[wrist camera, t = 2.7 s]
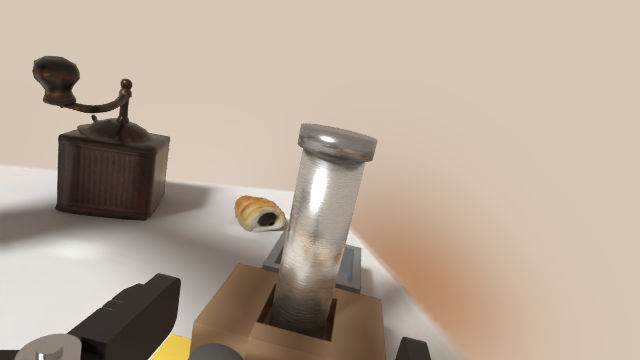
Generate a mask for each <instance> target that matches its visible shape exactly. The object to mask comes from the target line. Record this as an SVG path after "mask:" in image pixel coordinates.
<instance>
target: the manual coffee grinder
mask: <svg viewBox="0 0 640 360" xmlns="http://www.w3.org/2000/svg"><path fill="white" fill-rule="evenodd" d="M33 75H34V78H35V79H36V80H37V81H38V82H39V83H40V84H41V85H42V86H43V88H44V89H45V95H44V97H43V102H45V103H47V104H51V105H57V106H60V107H61V108H63V107H65V108H69V109H73V110H77V111H80V112H84V113H100V112H107V111H111V110H114V109H116V108H117V107H119V106H120V113H119V116H118V118H111V119H105V120H99V121H98V120H97V117H96V116H95V115H92V120H93V121H94V123H92V124H85V125H80V126H78V127H77V128H78V129H77V130H73V131H70V132H67V133H64V134H61V135H59V138H58V142H59V148H58V182H57V205H56V209H57V210H61V211H66V212H71V213H76V214H82V215H91V216H99V217H108V218H116V219H129V220H146V219H148V218H149V217H150V216H151V215H152V214H153V212H154V211H155V209H156V208H157V206H158V205H159V203H160V201H161V199H162V198H163V196H164V193H165V178H166V169H167V161H168V151H169V143H170V137H168V136H163V135H158V134H152V133H148V132H147V131H146V130H145V129H144V128H142V127H140V126H139V125H137V124H135V123H132V122H129V119H128V104H129V98H130V97H132V92H131V90H130V89H131V88H132V82H131V81H130V80H129V79H122V81H121V88H122V89H121V90H120V91H119V97H118V98H117V99H116V100H115V101H113V102H110V103H108V104H103V105H94V106H92V105H83V104H78V103H76V98H75V97H74V95H73V93H72V91H71V90H72V88H73V86H74V85H75V83H76V82H77V81H78V80H79V79H80V76H79V75H80V74H79V70H78V68H77V66H76V64H74V63H72V62H70V61H69V60H67V59H64V58H63V57H57V56H44V57H42V58H39V59H37V60H35V61H34V67H33Z"/></svg>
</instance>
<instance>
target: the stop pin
mask: <svg viewBox="0 0 640 360" xmlns="http://www.w3.org/2000/svg"><path fill="white" fill-rule="evenodd" d="M376 144H377V140H376V139H374V138H372V137H369V136H366V135H363V134H359V133H356V132H352V131H348V130H344V129H339V128H334V127H329V126H323V125H316V124H301V128H300V134H299V139H298V145H299V146H300V147H302V148H303V152H302V157H301V162H300V167H299V172H298V177H297V182H296V187H295V193H294V198H293V203H292V208H291V213H290V218H289V223H288V228H287V233H286V238H285V243H284V249H283V254H282V259H281V264H280V269H279V274H278V279H277V284H276V289H275V294H274V300H273V305H272V310H271V315H270V320H269V326H273V327H276V328H280V329H284V330H288V331H291V332H295V333H299V334H303V335H306V336H310V337H314V338H317V339H321V340H322V338H323V334H324V330H325V326H326V322H327V318H328V314H329V310H330V305H331V301H332V297H333V293H334V289H335V285H336V281H337V277H338V273H339V268H340V264H341V260H342V256H343V252H344V248H345V244H346V240H347V236H348V232H349V227H350V223H351V219H352V215H353V211H354V207H355V203H356V198H357V195H358V190H359V186H360V182H361V178H362V174H363V170H364V166H365V162H368V161H372V160H373V156H374V152H375V148H376Z"/></svg>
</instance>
